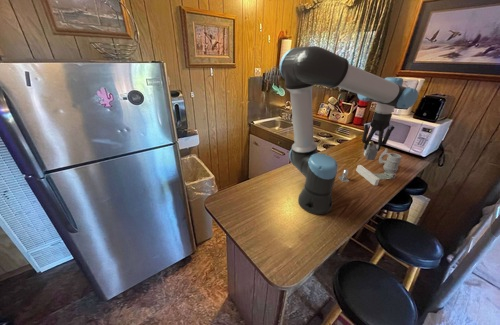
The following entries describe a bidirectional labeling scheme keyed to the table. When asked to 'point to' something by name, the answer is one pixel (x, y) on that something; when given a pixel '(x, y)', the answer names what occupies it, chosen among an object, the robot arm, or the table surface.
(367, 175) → the door edge
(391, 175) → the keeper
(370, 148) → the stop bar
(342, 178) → the grey knobbed fixture
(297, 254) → the table surface
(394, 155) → the mug
